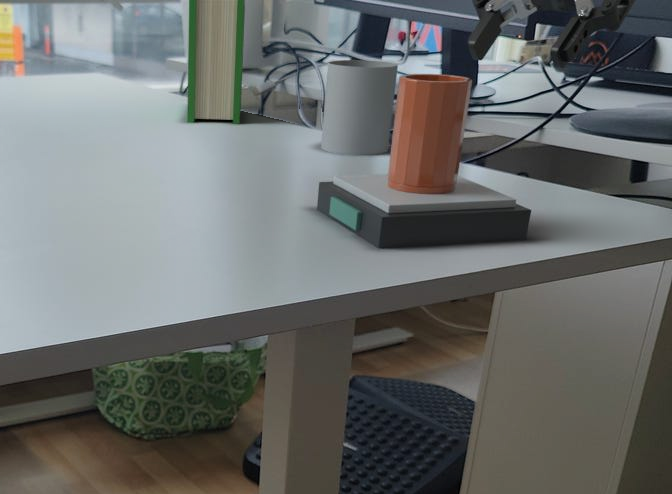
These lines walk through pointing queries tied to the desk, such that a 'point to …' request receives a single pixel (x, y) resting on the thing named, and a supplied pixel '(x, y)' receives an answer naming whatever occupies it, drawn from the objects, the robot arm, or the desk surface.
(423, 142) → the tumbler
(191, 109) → the hardback book
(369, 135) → the cup
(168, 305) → the desk surface
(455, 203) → the scale
